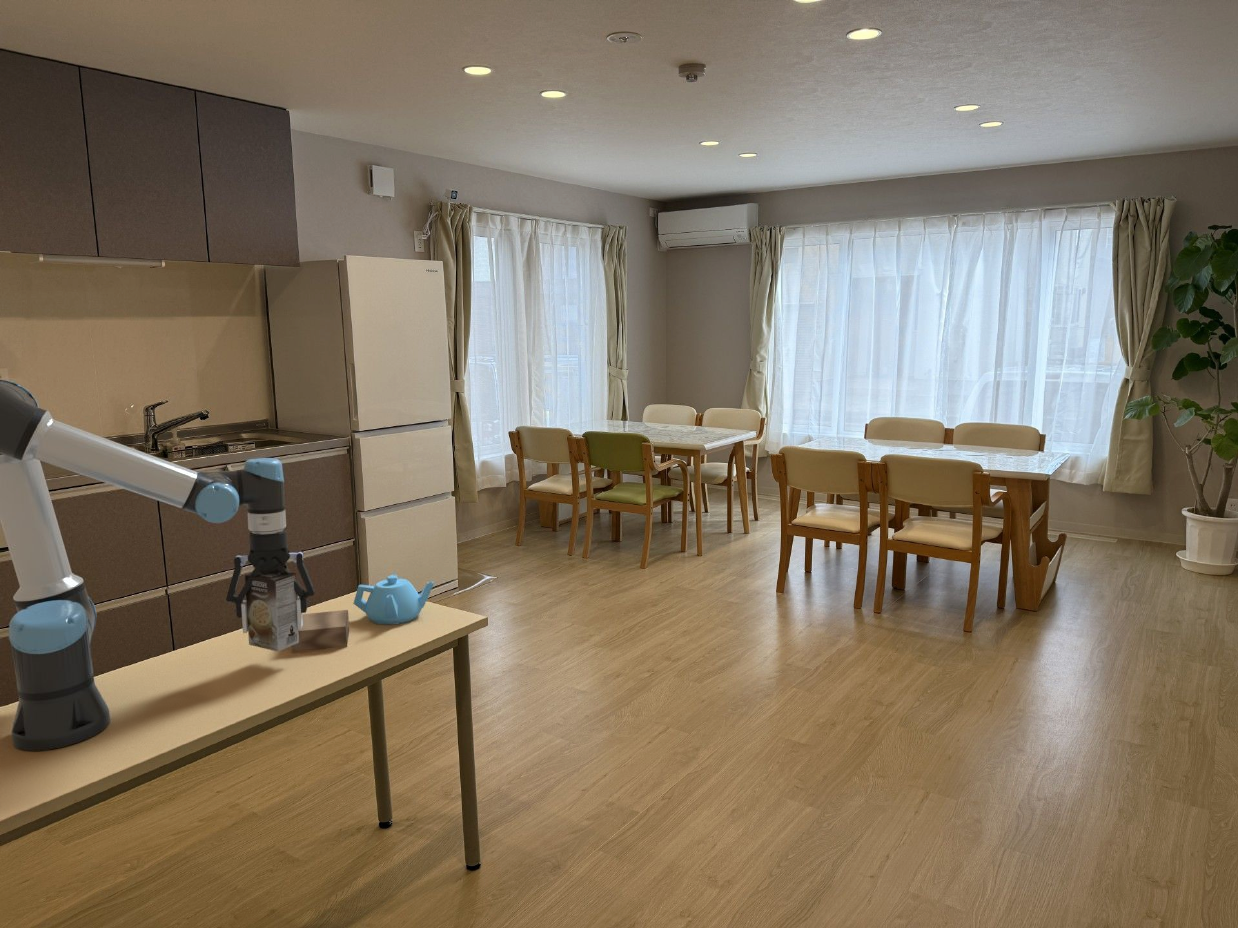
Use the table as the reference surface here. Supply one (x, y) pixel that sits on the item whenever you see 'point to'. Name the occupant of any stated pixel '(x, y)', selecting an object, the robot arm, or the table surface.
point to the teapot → (392, 600)
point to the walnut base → (323, 631)
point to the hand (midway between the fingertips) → (273, 628)
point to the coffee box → (272, 611)
